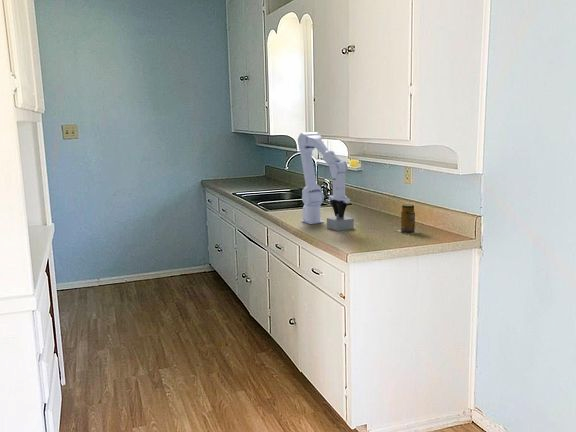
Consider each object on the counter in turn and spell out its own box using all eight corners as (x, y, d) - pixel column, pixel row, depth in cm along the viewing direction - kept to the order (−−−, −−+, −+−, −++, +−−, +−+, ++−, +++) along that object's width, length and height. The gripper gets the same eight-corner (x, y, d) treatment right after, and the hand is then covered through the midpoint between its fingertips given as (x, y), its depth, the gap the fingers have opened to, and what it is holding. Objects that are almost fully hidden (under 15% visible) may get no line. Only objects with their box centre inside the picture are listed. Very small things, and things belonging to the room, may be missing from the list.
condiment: (411, 229, 258) (411, 203, 256) (420, 233, 250) (420, 206, 248) (396, 230, 256) (396, 204, 254) (405, 234, 248) (405, 207, 246)
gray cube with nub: (326, 227, 267) (326, 213, 266) (342, 225, 271) (342, 211, 270) (337, 231, 259) (337, 216, 258) (353, 228, 263) (353, 214, 262)
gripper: (355, 188, 257) (355, 217, 260) (337, 185, 270) (337, 213, 272) (342, 189, 254) (342, 219, 256) (324, 186, 266) (325, 215, 269)
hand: (339, 216), depth 264 cm, fingers closed on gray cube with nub, 2 cm apart
